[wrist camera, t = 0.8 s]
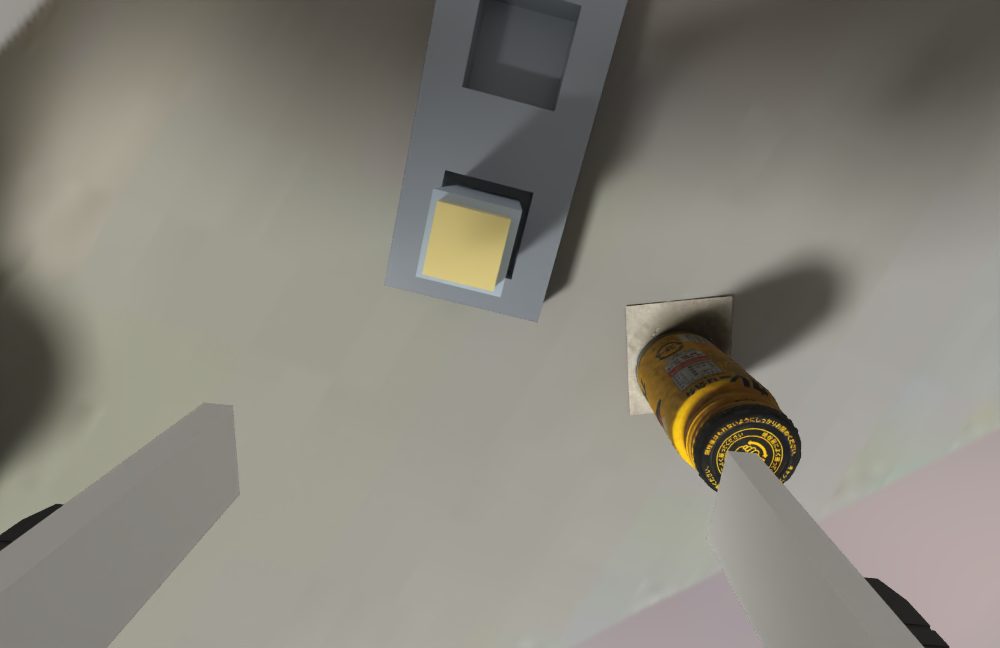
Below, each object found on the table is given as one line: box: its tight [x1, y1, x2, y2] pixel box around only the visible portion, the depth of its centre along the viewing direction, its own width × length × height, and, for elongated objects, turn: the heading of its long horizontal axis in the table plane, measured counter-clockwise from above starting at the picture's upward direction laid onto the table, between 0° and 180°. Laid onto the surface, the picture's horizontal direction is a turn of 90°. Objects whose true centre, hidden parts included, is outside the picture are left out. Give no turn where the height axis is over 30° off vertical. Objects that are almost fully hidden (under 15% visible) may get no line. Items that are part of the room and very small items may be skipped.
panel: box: [384, 0, 628, 323], centre depth 30 cm, size 10×20×4 cm, turn 166°
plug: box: [416, 184, 522, 297], centre depth 27 cm, size 4×4×12 cm
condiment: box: [626, 296, 801, 492], centre depth 30 cm, size 7×8×12 cm
